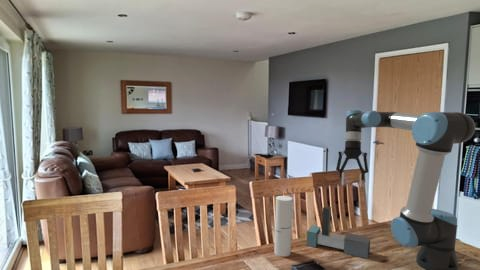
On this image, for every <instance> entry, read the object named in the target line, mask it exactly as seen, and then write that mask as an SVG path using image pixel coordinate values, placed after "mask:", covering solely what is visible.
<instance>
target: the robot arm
mask: <svg viewBox="0 0 480 270" xmlns="http://www.w3.org/2000/svg"><path fill="white" fill-rule="evenodd" d="M367 128H392V129H398V130H399V129H400V130H405V131H406V130H407V131H411V134H412V138H413V140H414V141H415V147H416V149H418V154H417V158H416V162H415V167H414V170H413V175H412V179H411V183H410V188H409V193H408V197H407V201H406V205H405V206H402V208H401V209H400V213H399V216H395V218H393V219H392V220H391V222H390V230H391V233H392V235H393V238H394V240H395V241H396V242H397V243H398V244H400V245H401V246H403V247H404V248H416V247H419V249H418V251H417V253H416V256H415V257H416V258H415V262H416V264H417V265H418V266H419V267H421V268H422V269H424V270H459V268H460V267H459V261H458V258H457V254H456V241H457V240H456V239H457V232H458V231H457V229H458V218H457V216H456V215H455V214H453V213H451V212H448V211H444V210H440V209H436V208H433V205H434V201H435V197H436V194H437V190H438V186H439V181H440V178H441V174H442V170H443V166H444V162H445V158H446V155H449V154H450V153H452V150H453V146H454V145H455V144H462V143H465V142H468V141H469V140H471V138H472V137H473V136H474V135H475V132H476V123H475V121H474V120H473V118H472V117H471V116H470V115H468V114H466V113H464V112H459V111H458V112H456V111H453V112H452V111H450V112H448V111H447V112H446V111H432V112H425V113H422V114H420V113H410V112H409V113H408V112H406V113H405V112H397V111H377V110H367V111H364V112H362V111H361V110H360V109H352V110H351V109H350V110H347V112H346V118H345V138H344V139H345V143H344V150H343V151H338V159H337V163H336V169H335V171H337V172H339V179H341V186H345V172H344V170H345V168H346V166H347V164H348V162H349V161H350V160H356V162H357V165H358V167H359V170H360V172H361V173H359V184H358V185H359V186H358V187H359V188H362V186H363V183H362V182H363V181H364V180H365V174H367V173H368V174H369V167H368V166H369V165H368V159H367V157H368V153H367V152H363V151H362V148H361V147H362V142H361V140H362V129H367ZM344 155H345V156H346V157H345V159H344V161H343V163H342V157H343V156H344ZM360 156H361V157H363V164H364V165H362V163H361V160H360V158H359V157H360ZM341 164H342V165H341ZM363 166H364V168H363Z"/></svg>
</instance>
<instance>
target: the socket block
mask: <svg viewBox="0 0 480 270" xmlns="http://www.w3.org/2000/svg"><path fill="white" fill-rule="evenodd" d="M318 231H322V226H318V225H313V224H312V225H311V226H310V227H309V228H308V230H306V246H308V247H312V248H316V247H317V246H318V245H319V244H316V242H317V233H318Z"/></svg>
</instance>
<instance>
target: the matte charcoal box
mask: <svg viewBox="0 0 480 270" xmlns="http://www.w3.org/2000/svg"><path fill="white" fill-rule="evenodd" d="M344 236H345V238H344V250H343V254H345V255H349V256H352V257H353V256H354V257H357V258H358V257H359V258H363V259H367V260H368V259H369V255H370V253H371V252H370V248H371V237H370V236H366V235H365V236H364V235H359V234H355V233H351V232H350V233H349V232H347V233H346V235H344Z"/></svg>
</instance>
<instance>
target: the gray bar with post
mask: <svg viewBox="0 0 480 270" xmlns="http://www.w3.org/2000/svg"><path fill="white" fill-rule="evenodd" d="M331 214H332V207H331V206H326V205H324V206H323V207H322V219H321V220H322V222H321V223H322V224H321V231H318V233H317V242H316V244H318V245H321V246H327V247H331V248H335V249H339V250H343V251H344V238H345V236H346V235H342V234H337V233H334V232H333V233H331Z"/></svg>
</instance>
